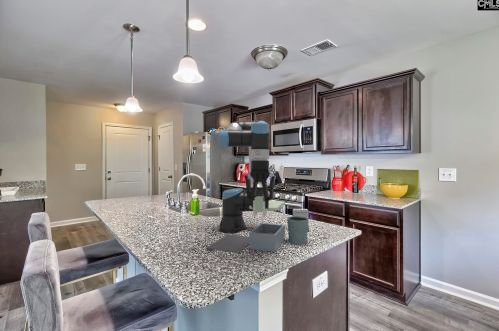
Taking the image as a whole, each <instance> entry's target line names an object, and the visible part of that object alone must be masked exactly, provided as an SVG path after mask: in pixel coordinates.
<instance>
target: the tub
mask: <svg viewBox="0 0 499 331" xmlns="http://www.w3.org/2000/svg"><path fill="white" fill-rule="evenodd" d="M267 233H273V234H267ZM248 235H249V236H248V237H249V245H248V248H249V250H255V251H256V250H257V251H264V252H271V253H277V252H278V250H279V249H280V247H281V246H282V244H284V242H285V240H286V225H284V224H275V223H264V222H261V223H260V224H259V225H257V226H256V227H255V228H252V230H251V231H249V233H248Z"/></svg>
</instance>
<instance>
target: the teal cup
mask: <svg viewBox="0 0 499 331" xmlns="http://www.w3.org/2000/svg"><path fill="white" fill-rule="evenodd" d="M308 219H309V217H308V218H306V217H300V216H293V215H292V216H289V217H287V218H286V222H287V234H288V235H287V236H288V243H290V244H291V245H300V246H301V245H306V244H307V243H308V232H309V231H308V221H309V220H308Z"/></svg>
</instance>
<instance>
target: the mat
mask: <svg viewBox="0 0 499 331" xmlns="http://www.w3.org/2000/svg"><path fill="white" fill-rule="evenodd" d="M247 247H249V236H247V235H245V236H244V235H239V234H230V233H229V234H228V233H227V234H226V235H224V236H223V237H221V238H219V239H218V240H216V241H215V242H213V243H211V244H210V245H209V246H207V247H206V251H210V252H211V251H212V252H213V251H214V250H216V251H222V252H230V253H237V254H240V253H242V252H243V251H244V250H245V249H246V248H247Z"/></svg>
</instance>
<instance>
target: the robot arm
mask: <svg viewBox="0 0 499 331" xmlns="http://www.w3.org/2000/svg"><path fill="white" fill-rule="evenodd" d="M217 142H218V143H217V144H218V146H219V147H225V148H227V147H231V148H234V147H235V148H237V147H241V148H242V147H243V148H244V147H245V148H246V147H247V148H248V174H245V175H244V176H243V177H244V180H245V187H246V188H245V189H246V190H243V188H242V187H238V188H230V189H225V190H224V191H223V192H222V198H221V200H222V208H221V209H222V215H221V219H220V222H219V225H218V226H219V227H218V228H219V231H220V232H223V233H227V234H228V233H229V234H230V233H231V234H234V233H240V232H242V231H245V230H246V228H247V227H246V222H245V220H244V217H243V212H252V216H253V217H256V216H257V215H258V212H255V197H257V196H260V197H264V199H265V200H264V201H263V212H262V217H263V218H265V217H267V211H266V209H268V208H269V201H272V200H273V199H274V194H275V180H276V178H277V176H276V175H273V174H272V173H271V172H270V161H269V159H270V124H269V123H268V122H266V121H264V120H236V121H233V122H231V123H229V124H227V126H226V127H225V129H221V130H220V129H219V130H218V133H217ZM268 179H269V188H268V185H267V184H268V182H267V180H268ZM268 189H269V190H268ZM249 206H251V207H252V208H253V209H249Z"/></svg>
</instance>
